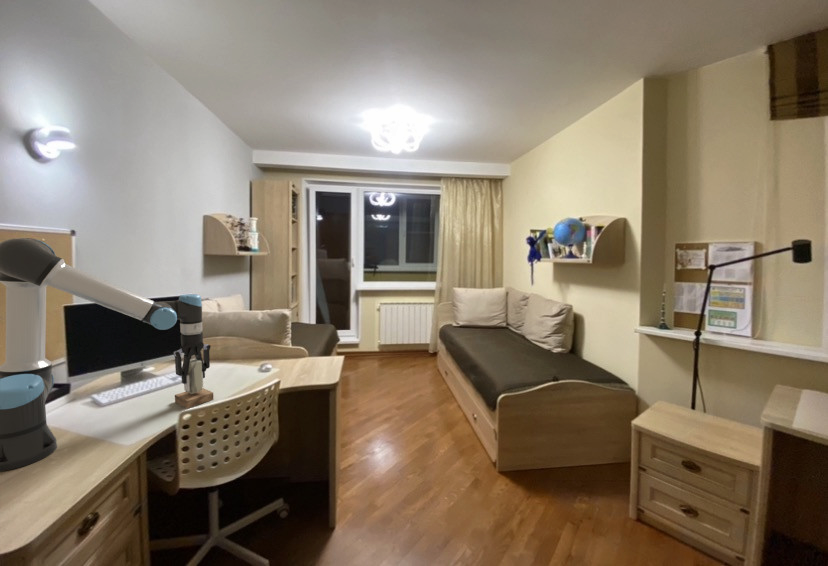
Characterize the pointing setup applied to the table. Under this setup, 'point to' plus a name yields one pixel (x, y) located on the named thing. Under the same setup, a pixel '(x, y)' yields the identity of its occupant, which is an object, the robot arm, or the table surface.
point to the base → (193, 398)
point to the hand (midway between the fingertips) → (193, 388)
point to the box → (195, 375)
